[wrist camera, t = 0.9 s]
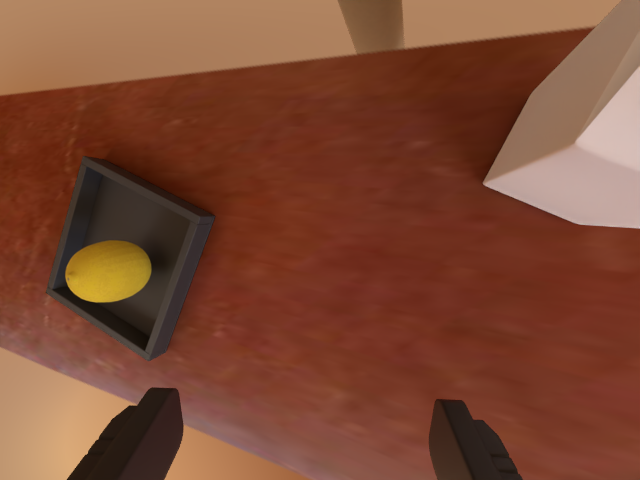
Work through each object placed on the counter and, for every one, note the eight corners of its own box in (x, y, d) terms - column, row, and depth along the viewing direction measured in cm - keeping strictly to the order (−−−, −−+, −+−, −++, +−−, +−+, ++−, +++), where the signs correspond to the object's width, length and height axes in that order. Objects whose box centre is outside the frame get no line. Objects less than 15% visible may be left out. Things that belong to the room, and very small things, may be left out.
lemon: (131, 230, 34) (48, 235, 26) (174, 247, 33) (100, 258, 25) (120, 279, 35) (38, 298, 27) (162, 298, 34) (88, 323, 26)
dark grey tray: (103, 159, 35) (82, 155, 32) (215, 216, 31) (200, 216, 29) (66, 288, 38) (45, 292, 35) (165, 352, 34) (148, 361, 32)
